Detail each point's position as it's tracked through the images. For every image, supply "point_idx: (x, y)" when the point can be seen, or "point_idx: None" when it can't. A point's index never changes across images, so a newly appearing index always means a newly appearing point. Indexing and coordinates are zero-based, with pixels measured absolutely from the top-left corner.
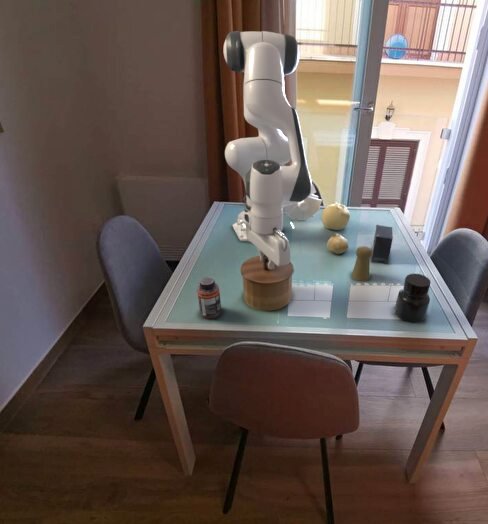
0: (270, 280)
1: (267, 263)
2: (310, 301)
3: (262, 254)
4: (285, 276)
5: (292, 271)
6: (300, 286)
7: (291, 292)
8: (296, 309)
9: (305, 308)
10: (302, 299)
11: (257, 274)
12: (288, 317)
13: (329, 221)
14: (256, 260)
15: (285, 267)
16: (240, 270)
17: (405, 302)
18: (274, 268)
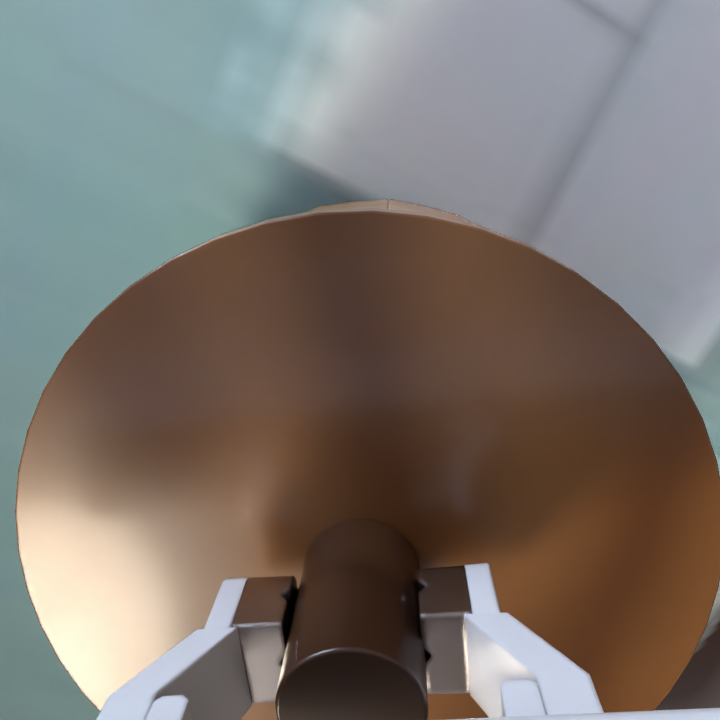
0: (646, 645)
1: (447, 689)
2: (630, 86)
3: (218, 707)
4: (667, 457)
5: (604, 314)
6: (361, 56)
7: (467, 221)
8: (661, 267)
9: (694, 186)
10: (563, 145)
11: (449, 712)
12: (713, 372)
13: None
14: (130, 610)
15: (453, 356)
16: None
17: None
18: (411, 499)
